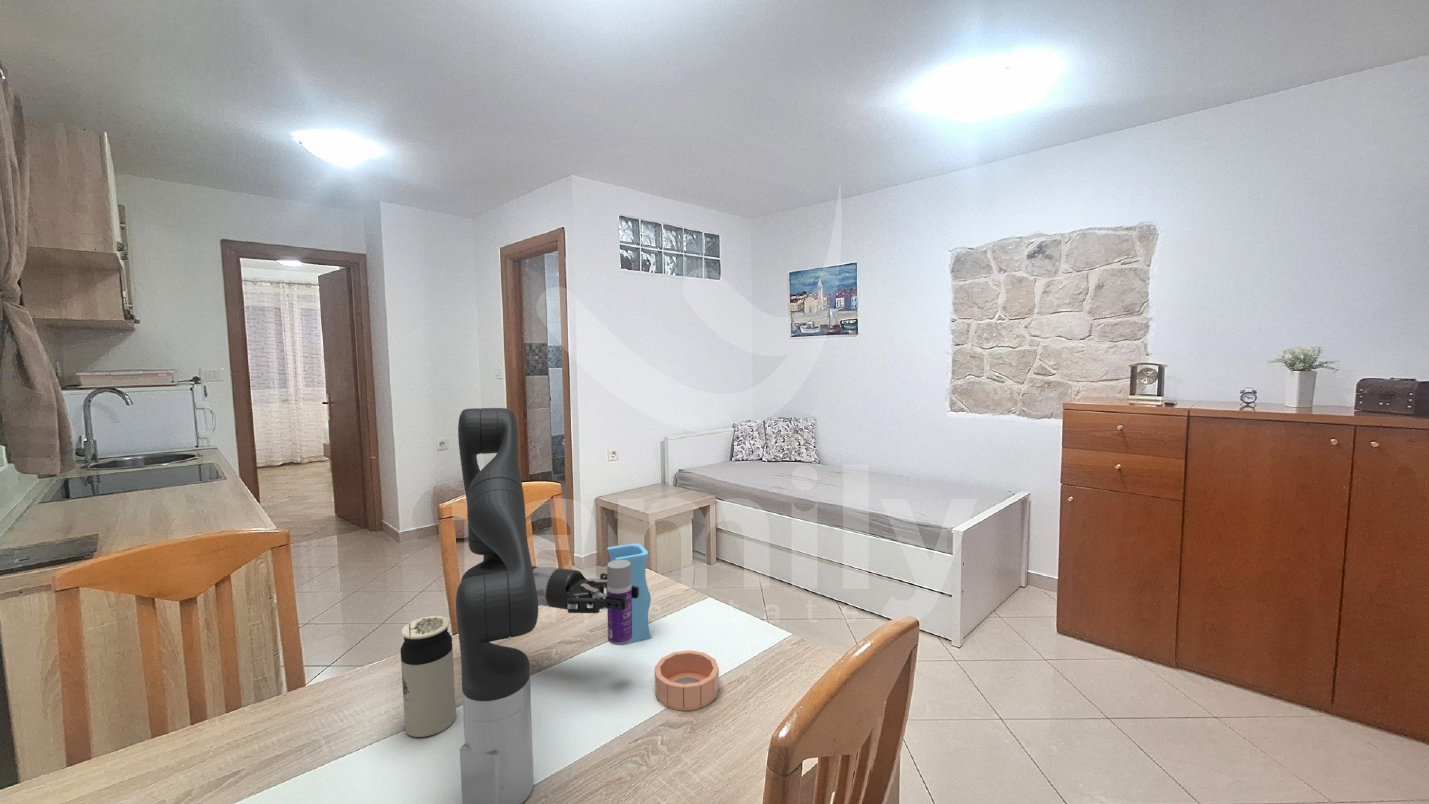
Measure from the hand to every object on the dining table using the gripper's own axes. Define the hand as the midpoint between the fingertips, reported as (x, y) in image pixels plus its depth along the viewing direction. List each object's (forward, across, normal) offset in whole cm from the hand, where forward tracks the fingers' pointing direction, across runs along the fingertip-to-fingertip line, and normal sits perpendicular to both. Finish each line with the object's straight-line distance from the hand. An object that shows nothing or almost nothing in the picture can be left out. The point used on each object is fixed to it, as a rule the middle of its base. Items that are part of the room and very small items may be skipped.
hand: (632, 598), depth 105 cm
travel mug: (-30, -20, +18) cm, 40 cm away
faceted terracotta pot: (+10, +2, +18) cm, 21 cm away
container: (-3, 0, +9) cm, 9 cm away
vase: (-10, +18, +18) cm, 28 cm away
